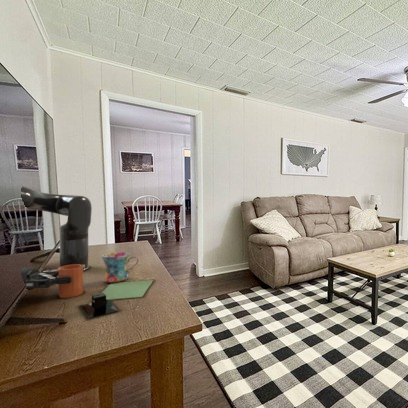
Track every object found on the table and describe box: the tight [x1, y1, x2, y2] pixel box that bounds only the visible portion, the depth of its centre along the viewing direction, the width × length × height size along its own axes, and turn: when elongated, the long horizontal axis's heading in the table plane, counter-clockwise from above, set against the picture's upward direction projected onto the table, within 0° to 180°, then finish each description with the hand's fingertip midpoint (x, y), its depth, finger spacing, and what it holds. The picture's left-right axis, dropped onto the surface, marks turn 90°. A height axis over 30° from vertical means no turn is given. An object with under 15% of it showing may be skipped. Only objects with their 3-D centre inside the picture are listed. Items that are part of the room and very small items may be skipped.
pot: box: [58, 264, 84, 299], centre depth 99 cm, size 6×6×10 cm
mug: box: [101, 252, 140, 284], centre depth 115 cm, size 12×9×11 cm
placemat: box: [100, 279, 154, 301], centre depth 106 cm, size 18×14×1 cm
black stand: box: [80, 292, 119, 320], centre depth 90 cm, size 12×7×5 cm, turn 51°
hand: (77, 276), depth 100 cm, fingers open, 8 cm apart
